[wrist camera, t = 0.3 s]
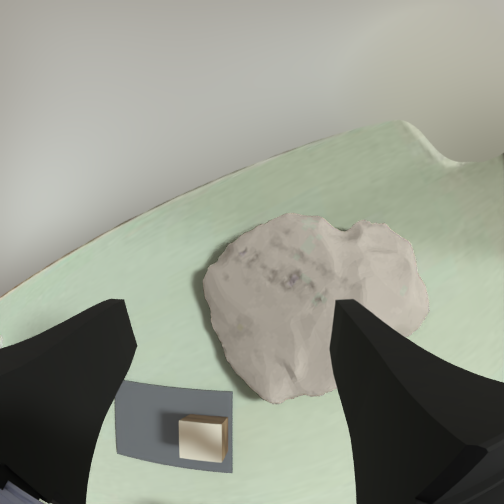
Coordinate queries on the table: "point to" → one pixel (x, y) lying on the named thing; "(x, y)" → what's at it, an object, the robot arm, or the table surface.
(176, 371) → the table surface
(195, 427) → the cube
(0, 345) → the pipe fitting
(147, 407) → the mat
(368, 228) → the rock
